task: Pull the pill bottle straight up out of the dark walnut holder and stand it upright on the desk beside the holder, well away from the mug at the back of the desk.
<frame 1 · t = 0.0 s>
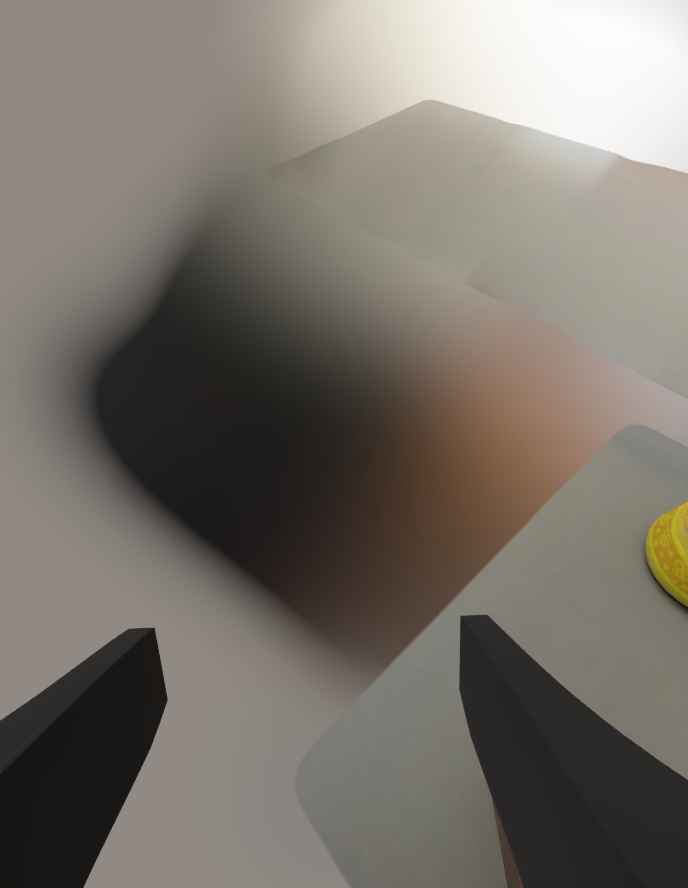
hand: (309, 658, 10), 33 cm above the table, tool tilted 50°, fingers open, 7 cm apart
holder: (566, 855, 32), on the table
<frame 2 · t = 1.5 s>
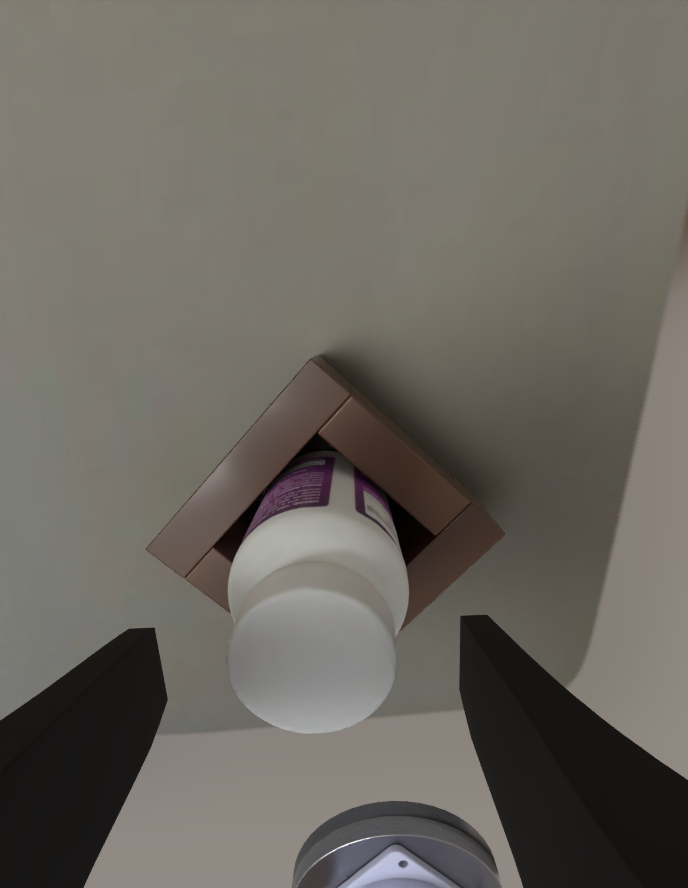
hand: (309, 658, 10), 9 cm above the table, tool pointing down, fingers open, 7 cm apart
pill bottle: (328, 504, 19), resting in holder
holder: (328, 505, 19), on the table
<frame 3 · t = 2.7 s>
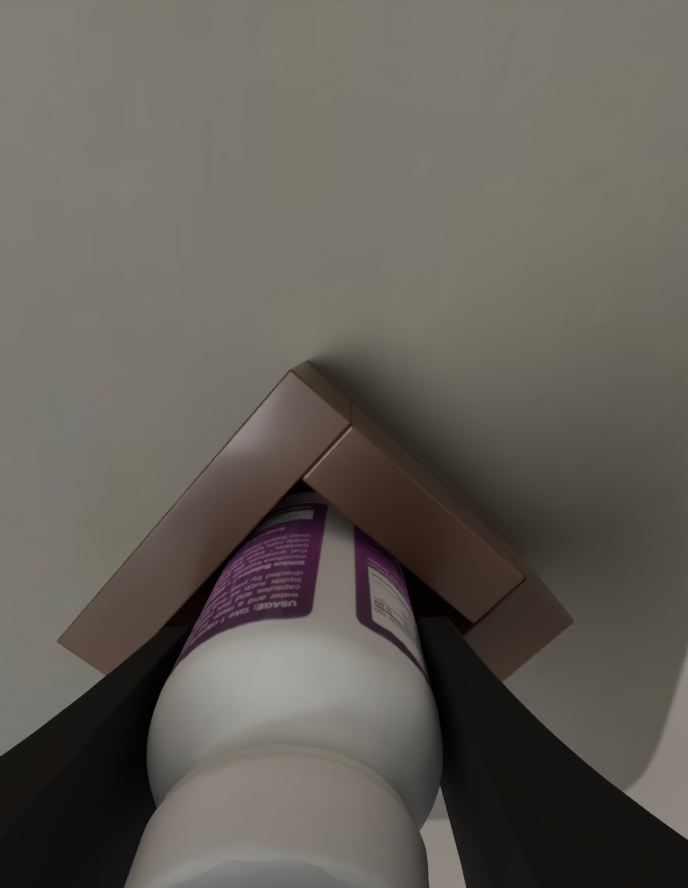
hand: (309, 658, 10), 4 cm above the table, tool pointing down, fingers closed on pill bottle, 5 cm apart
pill bottle: (319, 559, 15), resting in holder, touching gripper
holder: (320, 562, 14), on the table
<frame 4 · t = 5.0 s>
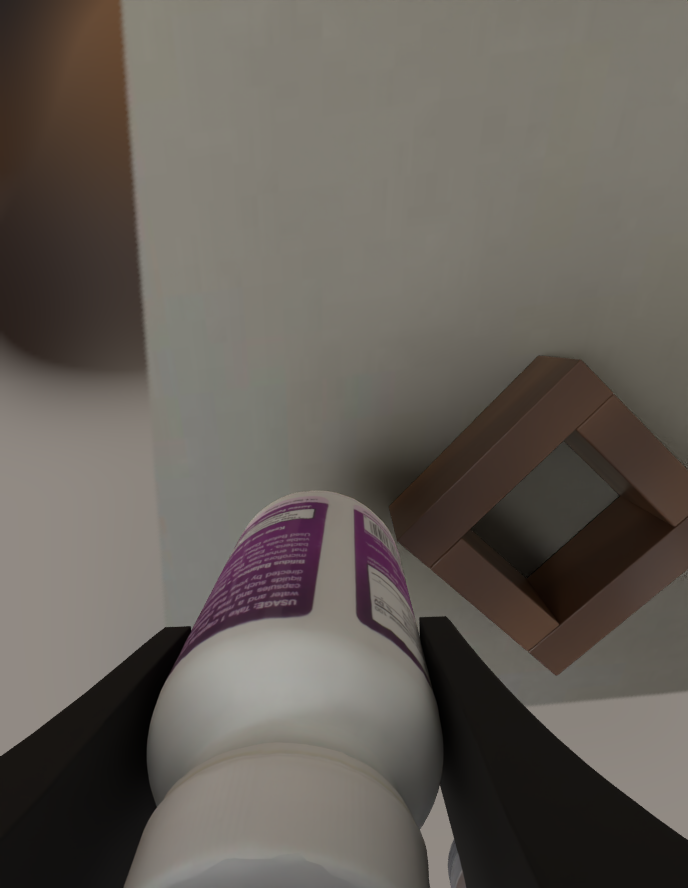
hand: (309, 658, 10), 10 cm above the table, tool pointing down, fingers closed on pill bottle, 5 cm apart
pill bottle: (320, 558, 15), point 6 cm above the table, touching gripper
holder: (530, 499, 20), on the table
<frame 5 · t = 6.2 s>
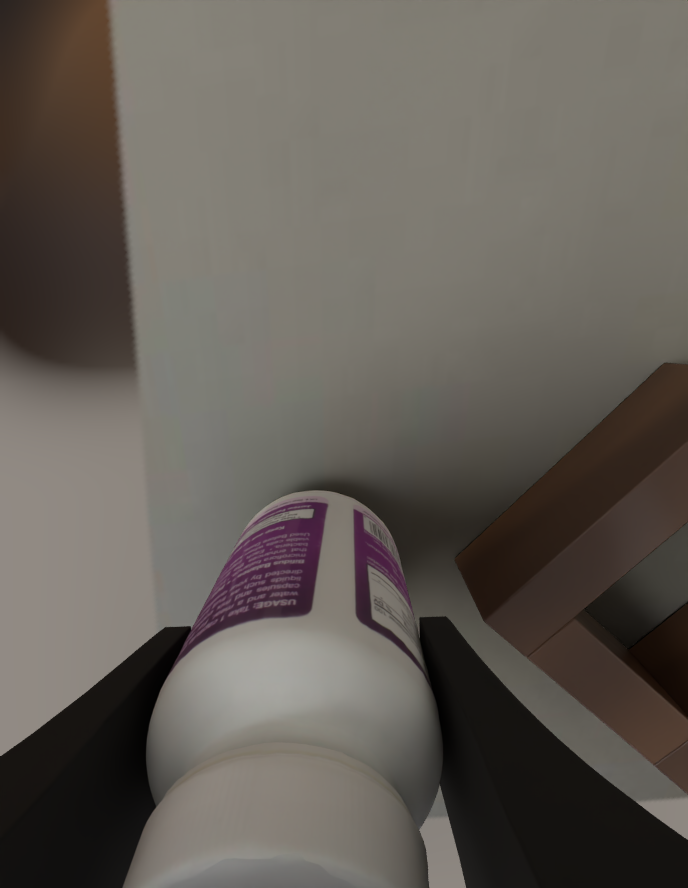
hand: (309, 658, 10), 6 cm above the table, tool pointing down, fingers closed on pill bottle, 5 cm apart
pill bottle: (319, 558, 15), point 1 cm above the table, touching gripper
holder: (640, 551, 15), on the table
when the fingers open (4 cm above the table, at t = 7.1 s): pill bottle stays where it is, on the table.
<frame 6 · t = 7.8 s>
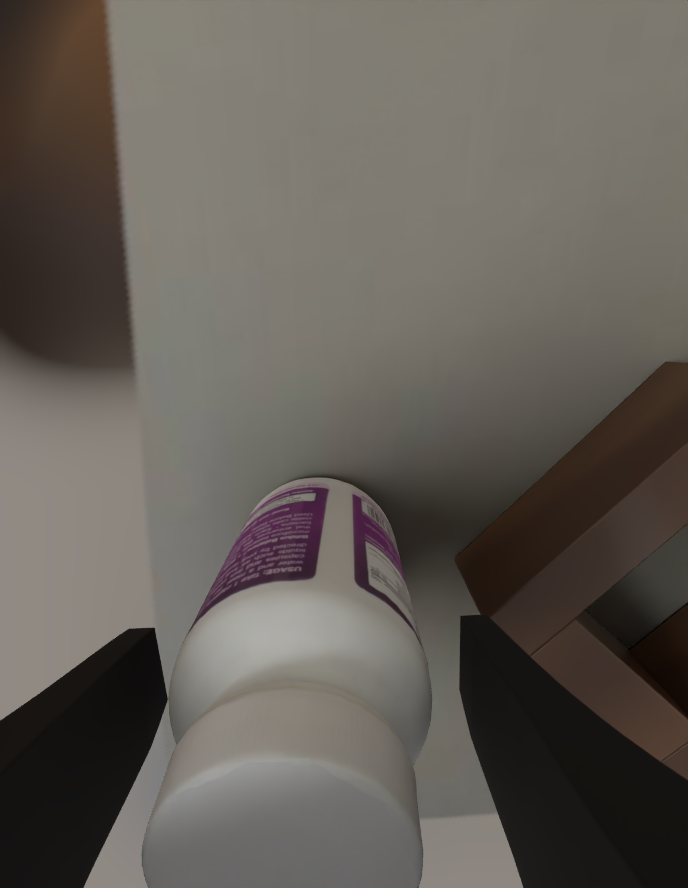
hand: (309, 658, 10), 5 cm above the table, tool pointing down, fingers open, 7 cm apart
pill bottle: (320, 542, 15), on the table
holder: (641, 551, 15), on the table
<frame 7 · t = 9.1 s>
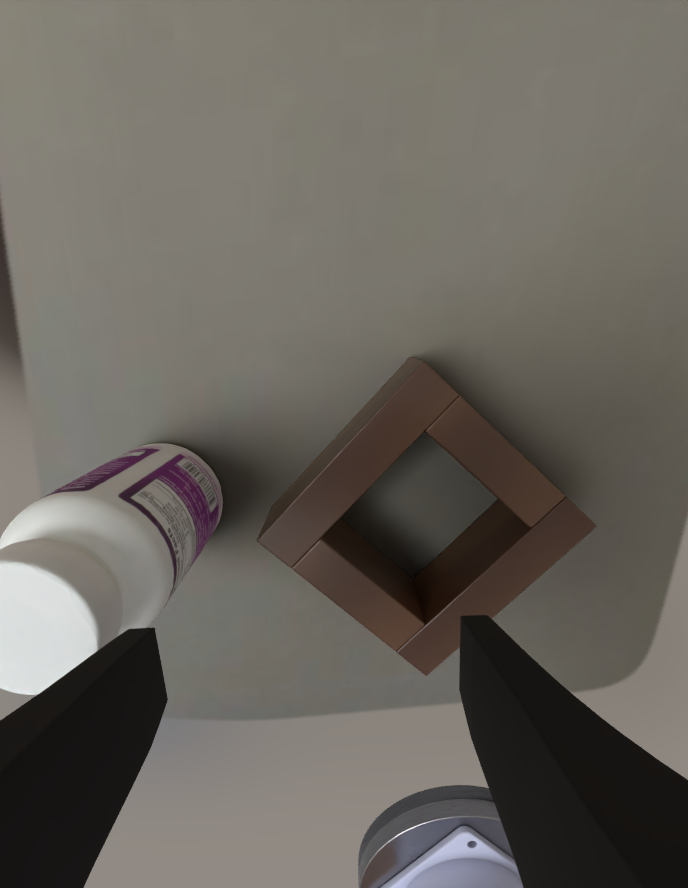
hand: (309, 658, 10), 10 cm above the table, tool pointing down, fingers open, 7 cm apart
pill bottle: (171, 494, 20), on the table
holder: (412, 500, 20), on the table
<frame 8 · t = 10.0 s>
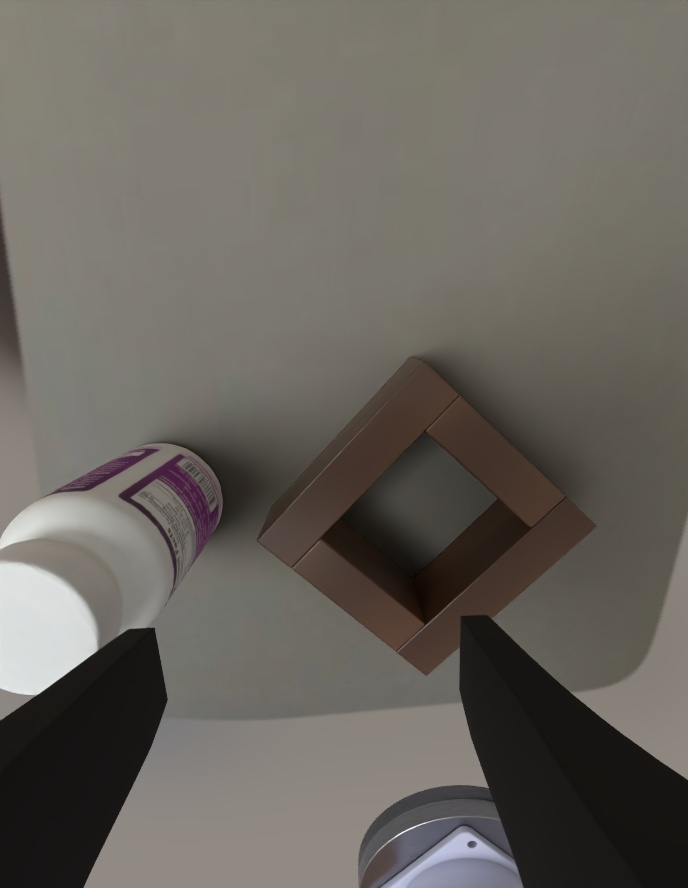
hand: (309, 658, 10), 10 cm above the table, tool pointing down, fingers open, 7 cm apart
pill bottle: (171, 494, 20), on the table
holder: (412, 500, 20), on the table
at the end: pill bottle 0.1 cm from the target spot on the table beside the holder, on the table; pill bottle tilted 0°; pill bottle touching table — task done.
